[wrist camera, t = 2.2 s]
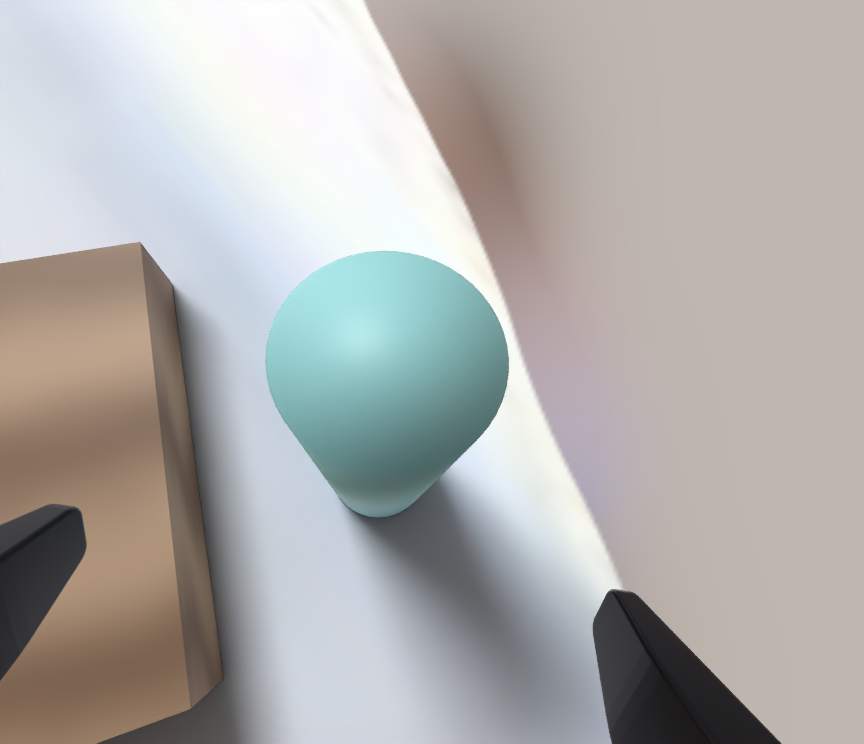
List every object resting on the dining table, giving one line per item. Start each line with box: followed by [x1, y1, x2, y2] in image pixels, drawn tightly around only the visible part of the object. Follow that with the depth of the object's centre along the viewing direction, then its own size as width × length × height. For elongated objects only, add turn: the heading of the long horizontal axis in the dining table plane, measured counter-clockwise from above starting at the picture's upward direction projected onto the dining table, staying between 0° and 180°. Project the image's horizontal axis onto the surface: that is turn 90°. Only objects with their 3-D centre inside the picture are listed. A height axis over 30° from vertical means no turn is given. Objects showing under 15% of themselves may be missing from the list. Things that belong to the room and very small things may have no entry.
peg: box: [266, 251, 509, 518], centre depth 13 cm, size 4×4×12 cm
